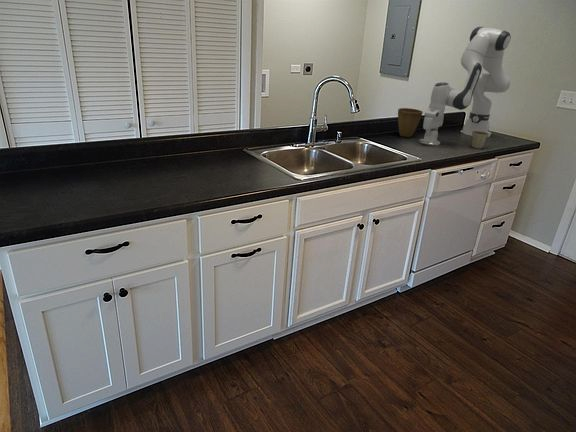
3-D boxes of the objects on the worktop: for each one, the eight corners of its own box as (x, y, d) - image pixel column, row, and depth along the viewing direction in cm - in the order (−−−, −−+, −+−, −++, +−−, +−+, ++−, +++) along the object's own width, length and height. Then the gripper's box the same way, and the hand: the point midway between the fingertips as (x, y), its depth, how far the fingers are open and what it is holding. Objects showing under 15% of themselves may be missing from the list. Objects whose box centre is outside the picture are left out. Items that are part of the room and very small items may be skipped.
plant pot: (389, 133, 256) (393, 108, 249) (406, 132, 263) (410, 107, 256) (405, 139, 244) (410, 113, 238) (422, 137, 251) (428, 112, 244)
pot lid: (424, 139, 247) (426, 130, 245) (443, 143, 240) (445, 134, 238) (415, 142, 239) (417, 133, 237) (434, 146, 232) (436, 137, 229)
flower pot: (475, 149, 231) (479, 134, 227) (464, 145, 239) (468, 131, 236) (488, 149, 234) (492, 134, 230) (478, 145, 242) (481, 130, 238)
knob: (427, 139, 243) (429, 128, 240) (437, 141, 239) (439, 130, 237) (422, 140, 239) (424, 129, 236) (432, 143, 235) (435, 131, 232)
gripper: (437, 109, 241) (433, 131, 247) (423, 112, 227) (418, 136, 232) (448, 111, 237) (443, 133, 243) (434, 114, 223) (429, 138, 229)
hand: (431, 135), depth 238 cm, fingers open, 8 cm apart
